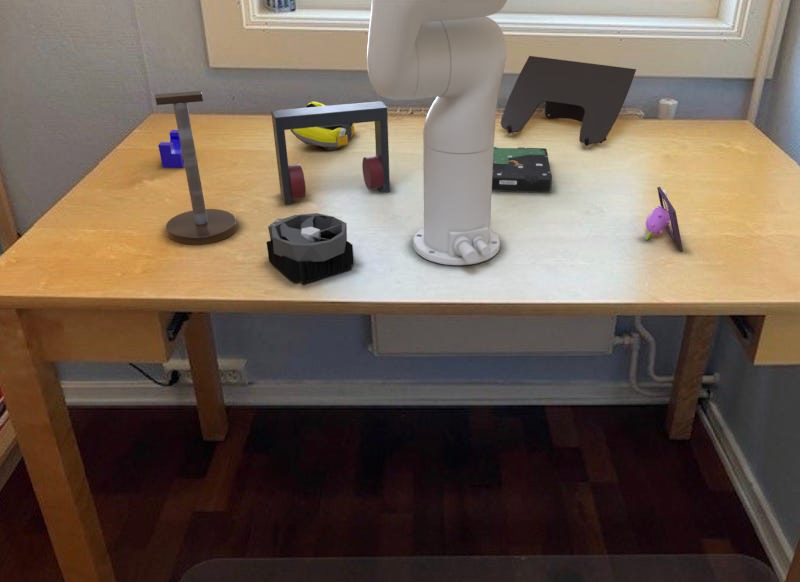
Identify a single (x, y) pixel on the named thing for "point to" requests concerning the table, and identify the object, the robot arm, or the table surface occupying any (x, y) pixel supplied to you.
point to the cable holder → (172, 151)
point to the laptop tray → (569, 95)
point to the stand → (194, 185)
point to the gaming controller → (325, 133)
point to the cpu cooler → (309, 247)
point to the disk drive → (521, 170)
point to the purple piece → (663, 219)
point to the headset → (327, 116)
